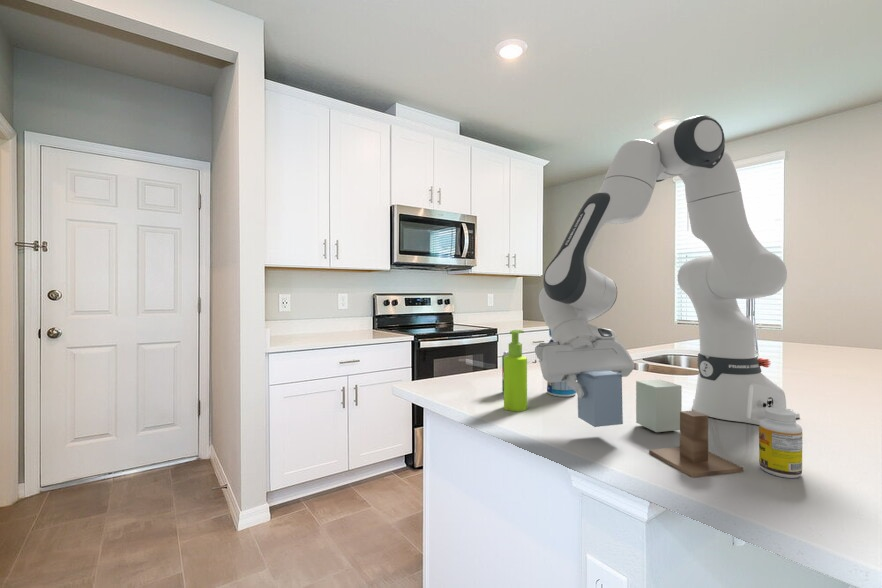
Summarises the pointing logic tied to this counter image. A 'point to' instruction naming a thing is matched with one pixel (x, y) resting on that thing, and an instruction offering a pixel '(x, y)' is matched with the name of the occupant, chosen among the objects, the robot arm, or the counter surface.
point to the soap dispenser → (515, 376)
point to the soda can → (503, 369)
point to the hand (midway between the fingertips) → (601, 395)
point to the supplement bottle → (780, 443)
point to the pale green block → (658, 405)
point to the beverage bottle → (559, 385)
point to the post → (695, 449)
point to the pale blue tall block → (601, 398)
